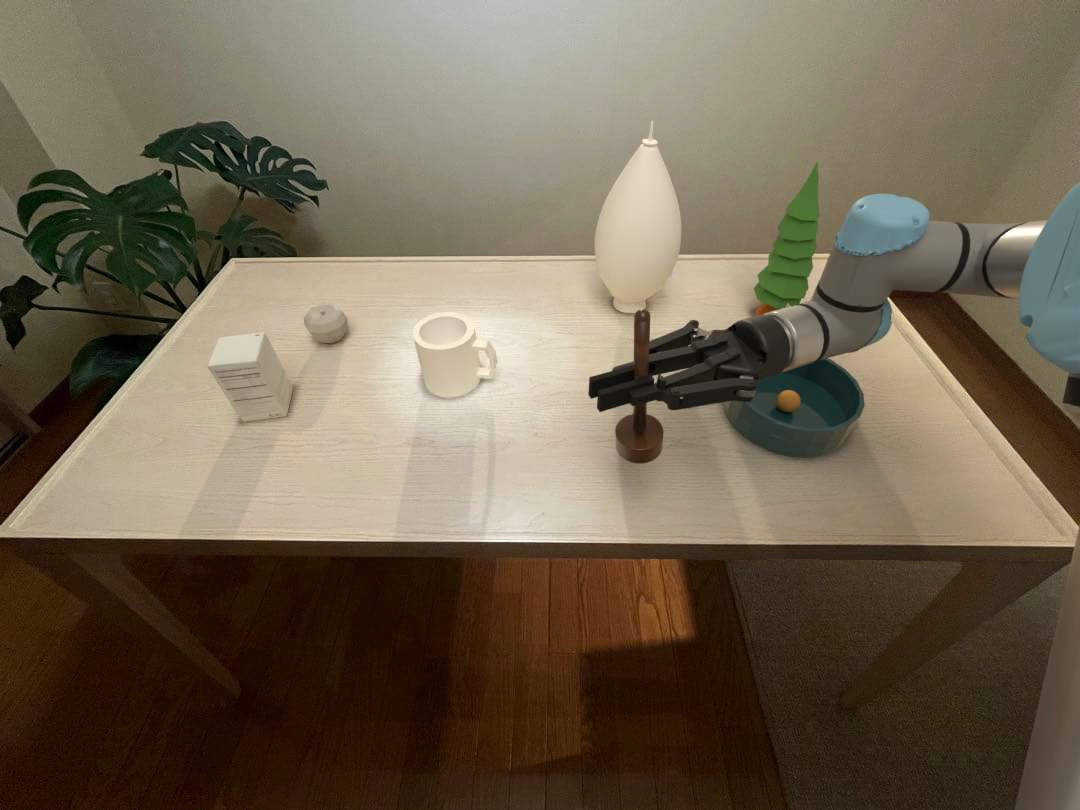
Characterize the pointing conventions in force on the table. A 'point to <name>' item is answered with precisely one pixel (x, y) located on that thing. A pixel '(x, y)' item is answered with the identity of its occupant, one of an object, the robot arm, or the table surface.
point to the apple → (326, 323)
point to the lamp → (638, 230)
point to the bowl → (801, 410)
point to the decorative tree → (791, 252)
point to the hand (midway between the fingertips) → (594, 394)
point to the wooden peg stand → (640, 406)
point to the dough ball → (788, 401)
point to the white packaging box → (251, 376)
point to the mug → (451, 354)
